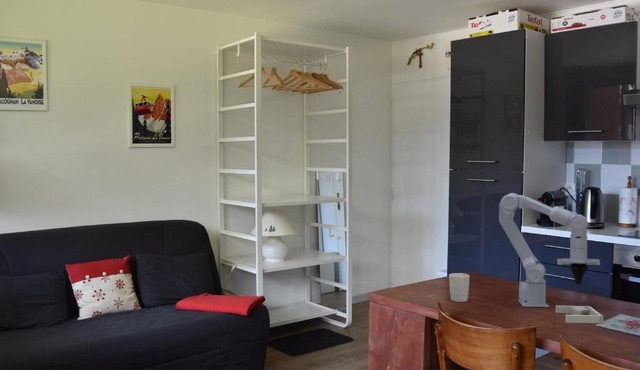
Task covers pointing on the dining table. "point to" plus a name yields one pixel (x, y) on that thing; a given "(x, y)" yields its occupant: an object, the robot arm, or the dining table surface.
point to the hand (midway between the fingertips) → (578, 283)
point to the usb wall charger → (579, 311)
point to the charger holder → (591, 318)
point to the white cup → (459, 287)
